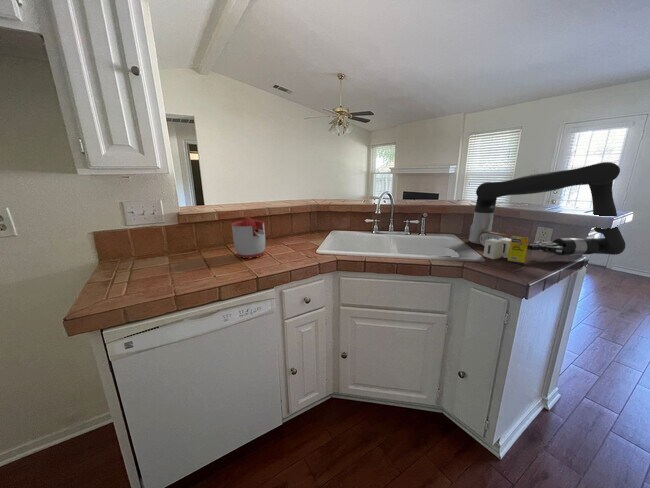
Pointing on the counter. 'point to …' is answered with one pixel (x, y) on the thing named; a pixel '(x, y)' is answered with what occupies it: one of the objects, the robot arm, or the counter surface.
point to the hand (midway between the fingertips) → (528, 247)
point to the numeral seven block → (505, 247)
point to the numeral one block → (493, 248)
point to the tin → (490, 236)
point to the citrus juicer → (249, 237)
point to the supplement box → (517, 249)
